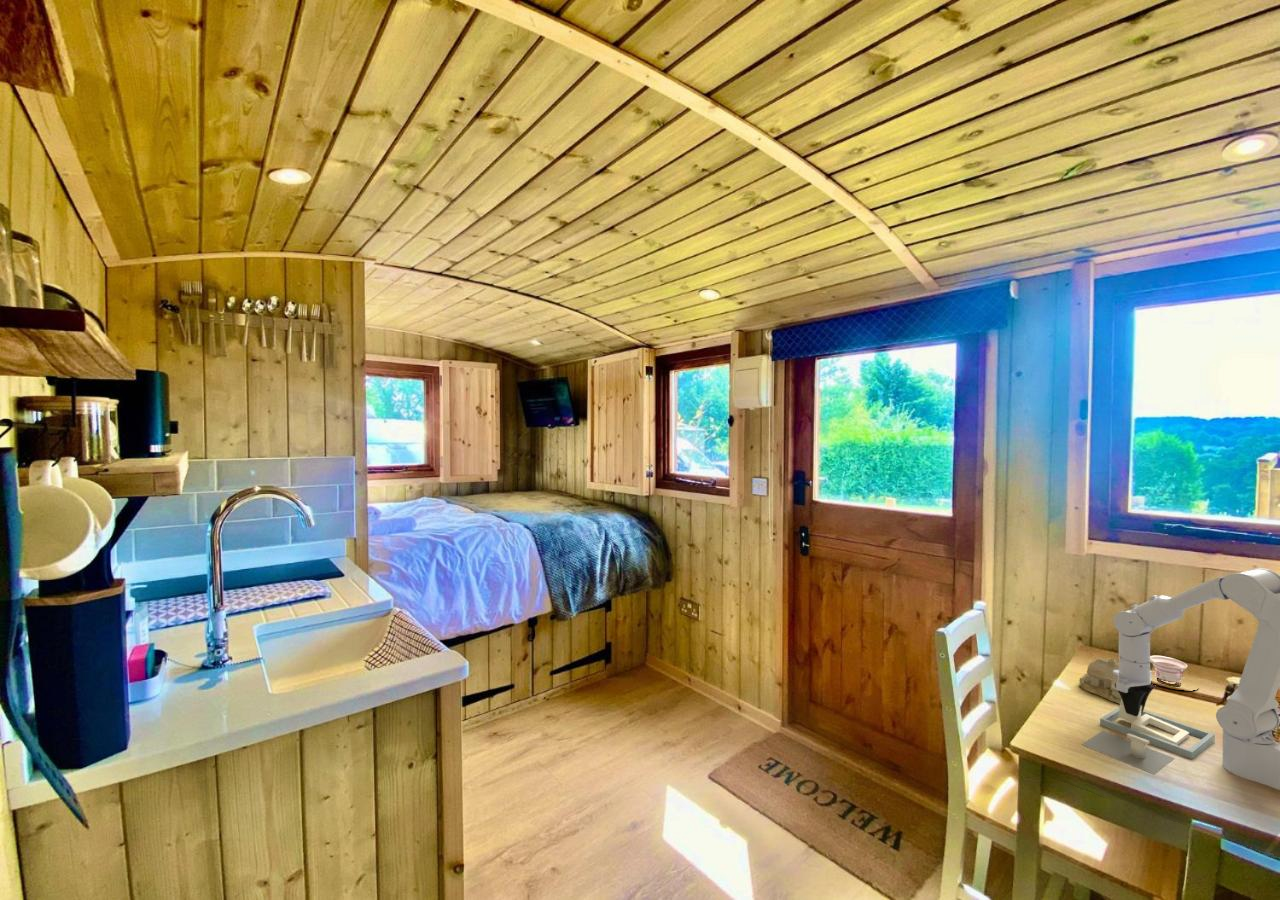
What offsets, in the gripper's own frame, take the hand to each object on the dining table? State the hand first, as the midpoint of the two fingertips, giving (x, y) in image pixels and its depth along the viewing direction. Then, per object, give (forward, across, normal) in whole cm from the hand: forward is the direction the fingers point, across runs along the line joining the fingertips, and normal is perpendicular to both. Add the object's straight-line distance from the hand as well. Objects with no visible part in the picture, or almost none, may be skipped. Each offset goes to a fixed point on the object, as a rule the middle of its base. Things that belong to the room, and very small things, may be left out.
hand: (1134, 713), depth 133 cm
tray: (+4, 0, +4) cm, 6 cm away
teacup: (+4, -38, -5) cm, 39 cm away
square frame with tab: (+3, 0, +3) cm, 4 cm away
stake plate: (+4, +15, +4) cm, 16 cm away
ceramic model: (+4, -17, -11) cm, 20 cm away
